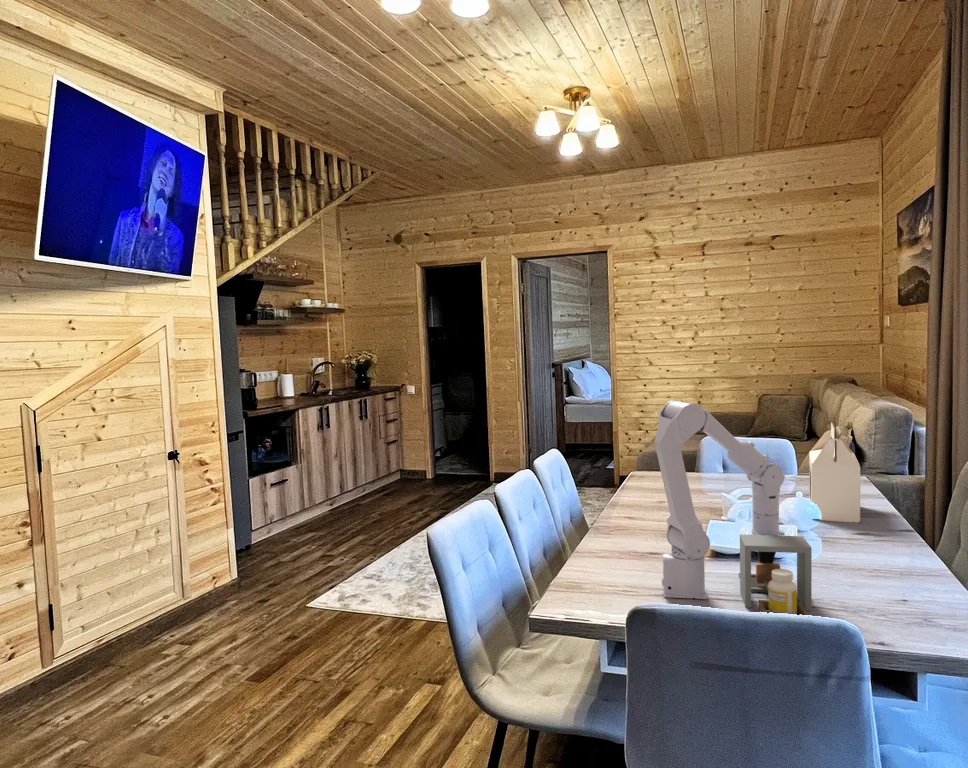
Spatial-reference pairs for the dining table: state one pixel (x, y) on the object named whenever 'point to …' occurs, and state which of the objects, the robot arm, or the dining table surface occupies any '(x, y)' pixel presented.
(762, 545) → the tunnel
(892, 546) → the dining table surface
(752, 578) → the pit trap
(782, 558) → the dining table surface
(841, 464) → the gable box
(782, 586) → the supplement bottle
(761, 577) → the sled
